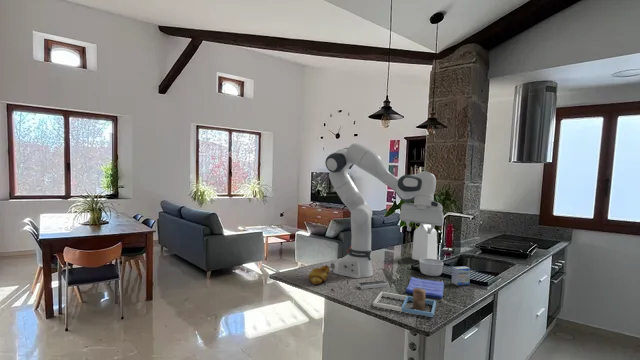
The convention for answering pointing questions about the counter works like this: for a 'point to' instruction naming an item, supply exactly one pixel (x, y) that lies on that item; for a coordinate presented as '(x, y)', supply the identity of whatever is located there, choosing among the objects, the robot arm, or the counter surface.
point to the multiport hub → (372, 284)
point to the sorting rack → (404, 304)
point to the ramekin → (431, 266)
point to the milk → (424, 243)
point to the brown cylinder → (419, 298)
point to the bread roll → (319, 274)
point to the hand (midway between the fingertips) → (418, 232)
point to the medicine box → (461, 275)
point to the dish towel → (426, 287)
